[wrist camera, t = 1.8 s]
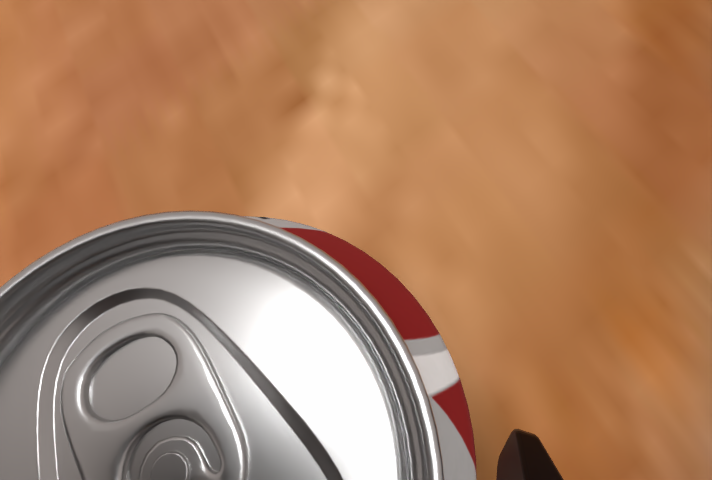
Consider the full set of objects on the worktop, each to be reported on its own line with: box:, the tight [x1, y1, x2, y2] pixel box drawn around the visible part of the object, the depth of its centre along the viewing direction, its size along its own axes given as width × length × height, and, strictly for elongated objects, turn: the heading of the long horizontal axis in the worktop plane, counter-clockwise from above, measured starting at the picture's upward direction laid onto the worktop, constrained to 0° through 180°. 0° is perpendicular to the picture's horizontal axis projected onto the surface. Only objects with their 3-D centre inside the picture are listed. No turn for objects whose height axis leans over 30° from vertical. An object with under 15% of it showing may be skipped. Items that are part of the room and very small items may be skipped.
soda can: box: [0, 211, 476, 480], centre depth 10 cm, size 7×7×12 cm
